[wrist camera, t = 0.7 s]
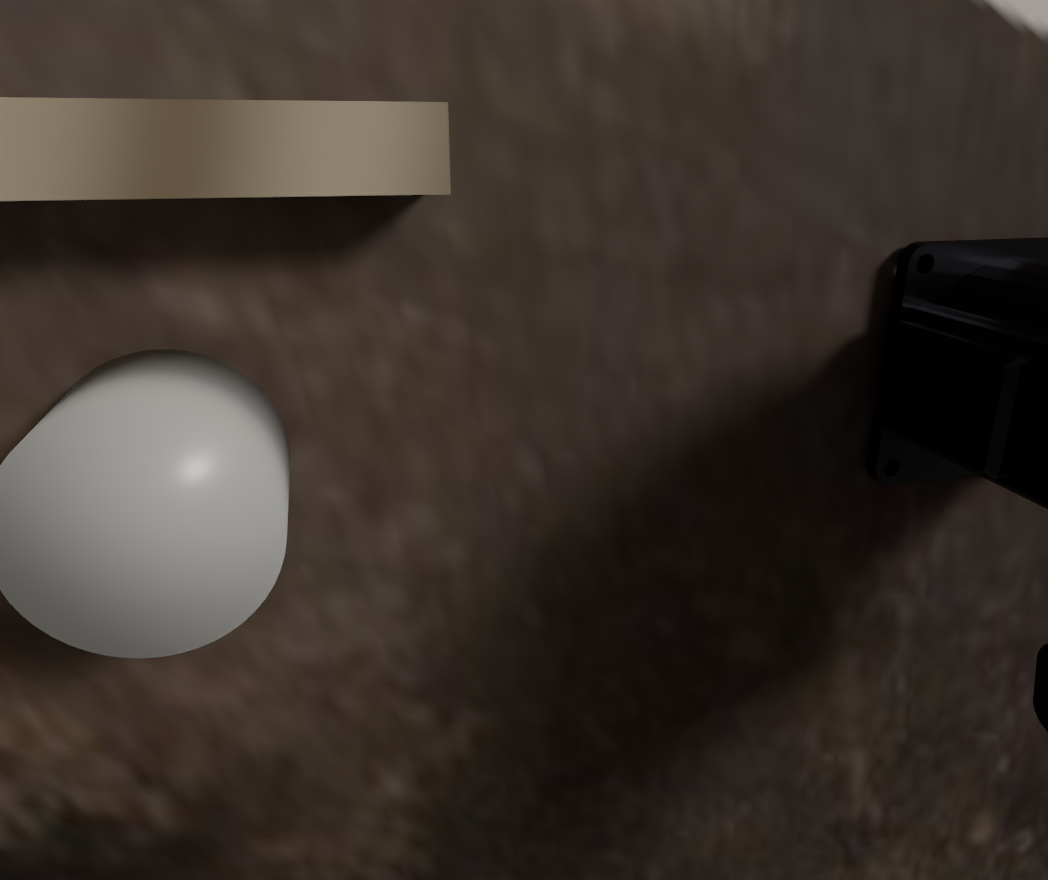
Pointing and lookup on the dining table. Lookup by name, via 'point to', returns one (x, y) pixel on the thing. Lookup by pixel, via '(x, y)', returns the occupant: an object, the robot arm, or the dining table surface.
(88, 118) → the oak rail
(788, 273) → the dining table surface
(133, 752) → the dining table surface
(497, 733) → the dining table surface
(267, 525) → the grey egg-shaped dome
